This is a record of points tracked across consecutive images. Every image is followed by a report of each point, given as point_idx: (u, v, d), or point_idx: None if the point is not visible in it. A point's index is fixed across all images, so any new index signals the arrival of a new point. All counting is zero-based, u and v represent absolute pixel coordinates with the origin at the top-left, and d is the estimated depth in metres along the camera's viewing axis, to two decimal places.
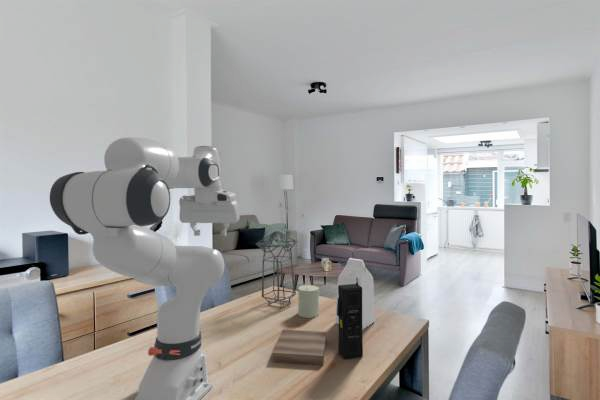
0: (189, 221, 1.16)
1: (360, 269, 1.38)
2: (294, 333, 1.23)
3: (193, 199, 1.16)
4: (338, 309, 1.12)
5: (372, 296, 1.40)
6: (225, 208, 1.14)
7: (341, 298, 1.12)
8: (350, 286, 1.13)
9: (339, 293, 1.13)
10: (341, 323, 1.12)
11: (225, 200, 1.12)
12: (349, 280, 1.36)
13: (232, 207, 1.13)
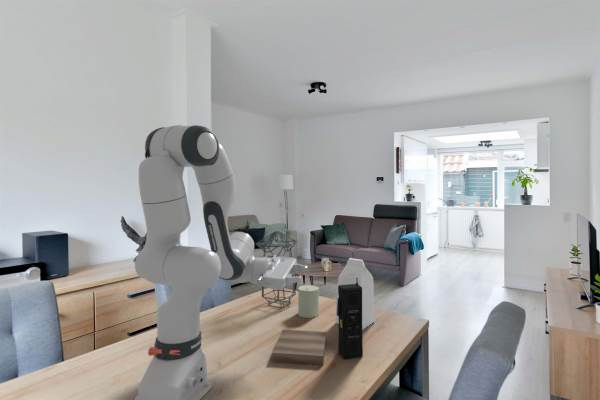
0: (284, 275, 1.09)
1: (360, 269, 1.38)
2: (294, 333, 1.23)
3: None
4: (338, 309, 1.12)
5: (372, 296, 1.40)
6: (281, 261, 1.23)
7: (341, 298, 1.12)
8: (350, 286, 1.13)
9: (339, 293, 1.13)
10: (341, 323, 1.12)
11: (274, 255, 1.23)
12: (349, 280, 1.36)
13: None
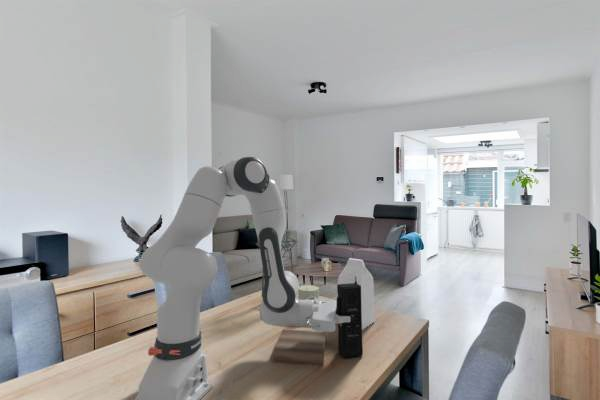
0: (334, 316, 1.07)
1: (360, 269, 1.38)
2: (294, 333, 1.23)
3: (311, 318, 1.10)
4: (337, 308, 1.13)
5: (372, 296, 1.40)
6: (322, 303, 1.21)
7: (340, 297, 1.13)
8: (349, 285, 1.14)
9: (338, 292, 1.14)
10: None
11: (314, 297, 1.22)
12: (349, 280, 1.36)
13: None
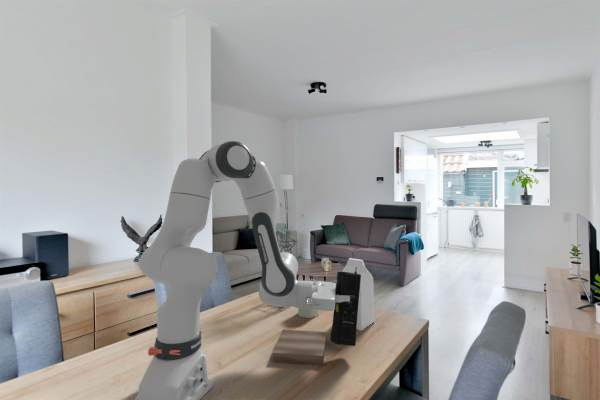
0: (333, 296, 1.07)
1: (360, 269, 1.38)
2: (294, 333, 1.23)
3: (310, 298, 1.09)
4: (336, 293, 1.14)
5: (372, 296, 1.40)
6: (321, 285, 1.20)
7: (340, 282, 1.14)
8: None
9: (338, 278, 1.16)
10: (337, 308, 1.12)
11: (313, 280, 1.21)
12: None
13: (320, 281, 1.23)
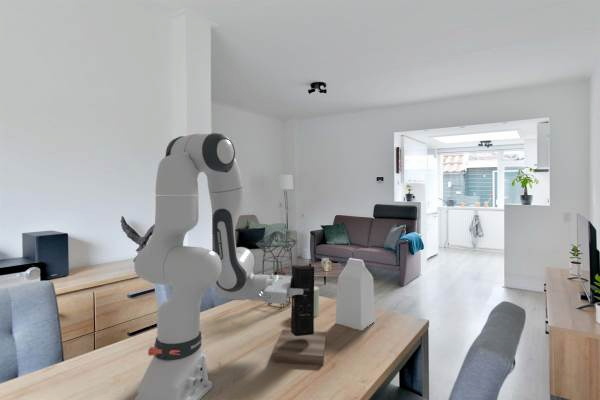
0: (286, 289, 1.10)
1: (360, 269, 1.38)
2: None
3: (264, 291, 1.12)
4: None
5: (372, 296, 1.40)
6: (279, 279, 1.23)
7: (294, 277, 1.17)
8: (303, 266, 1.18)
9: (292, 273, 1.18)
10: (293, 302, 1.16)
11: (272, 273, 1.24)
12: (349, 280, 1.36)
13: (279, 275, 1.26)
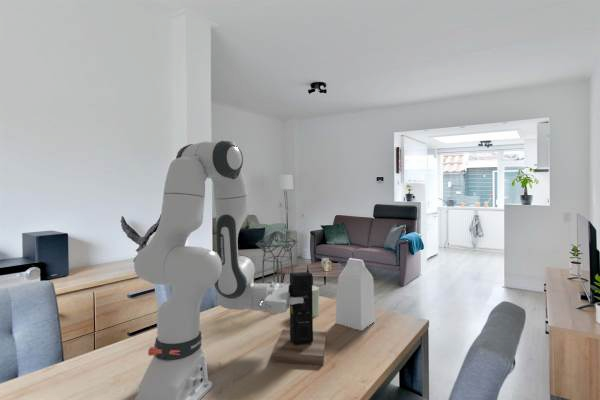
0: (286, 298, 1.10)
1: (360, 269, 1.38)
2: None
3: None
4: None
5: (372, 296, 1.40)
6: (279, 287, 1.24)
7: (292, 284, 1.16)
8: (301, 273, 1.18)
9: (290, 280, 1.18)
10: (292, 309, 1.15)
11: (272, 282, 1.24)
12: (349, 280, 1.36)
13: (279, 283, 1.26)
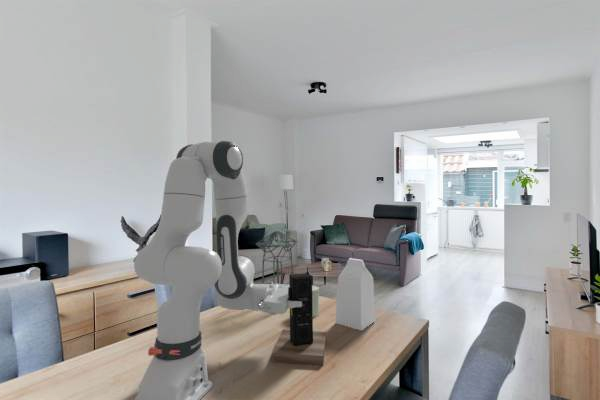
0: (285, 299, 1.10)
1: (360, 269, 1.38)
2: None
3: (264, 301, 1.13)
4: None
5: (372, 296, 1.40)
6: (278, 288, 1.24)
7: (291, 287, 1.14)
8: (300, 275, 1.16)
9: (290, 282, 1.16)
10: (291, 311, 1.15)
11: (271, 282, 1.25)
12: (349, 280, 1.36)
13: None
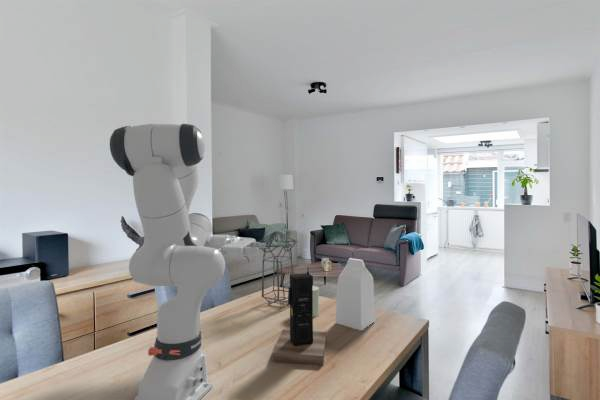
0: (242, 245, 1.15)
1: (360, 269, 1.38)
2: None
3: None
4: (289, 297, 1.15)
5: (372, 296, 1.40)
6: (240, 240, 1.28)
7: (292, 287, 1.14)
8: (301, 275, 1.16)
9: (290, 282, 1.16)
10: (292, 311, 1.15)
11: (233, 235, 1.29)
12: (349, 280, 1.36)
13: (241, 237, 1.31)
